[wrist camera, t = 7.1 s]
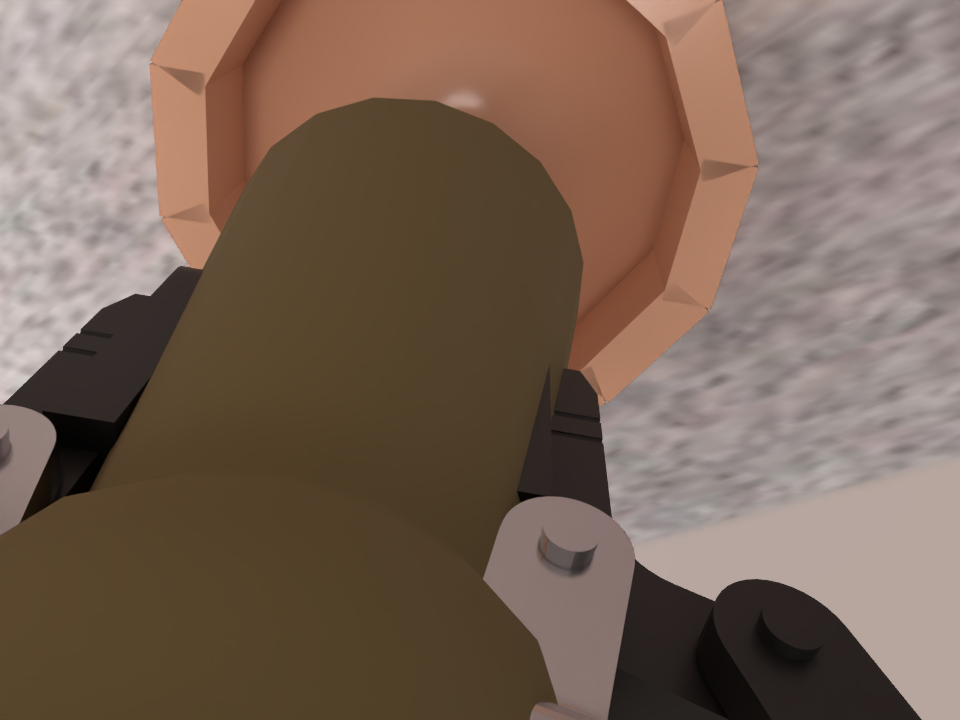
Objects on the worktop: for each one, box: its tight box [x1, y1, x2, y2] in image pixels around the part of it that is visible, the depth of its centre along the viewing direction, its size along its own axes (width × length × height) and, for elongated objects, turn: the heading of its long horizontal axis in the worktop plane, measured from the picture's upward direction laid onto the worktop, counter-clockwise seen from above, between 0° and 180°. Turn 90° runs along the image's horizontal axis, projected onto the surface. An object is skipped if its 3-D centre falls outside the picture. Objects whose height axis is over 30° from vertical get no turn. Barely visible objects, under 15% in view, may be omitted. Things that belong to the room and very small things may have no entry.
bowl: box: [150, 0, 759, 405], centre depth 20 cm, size 13×13×4 cm
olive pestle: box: [0, 98, 584, 720], centre depth 9 cm, size 6×6×11 cm
